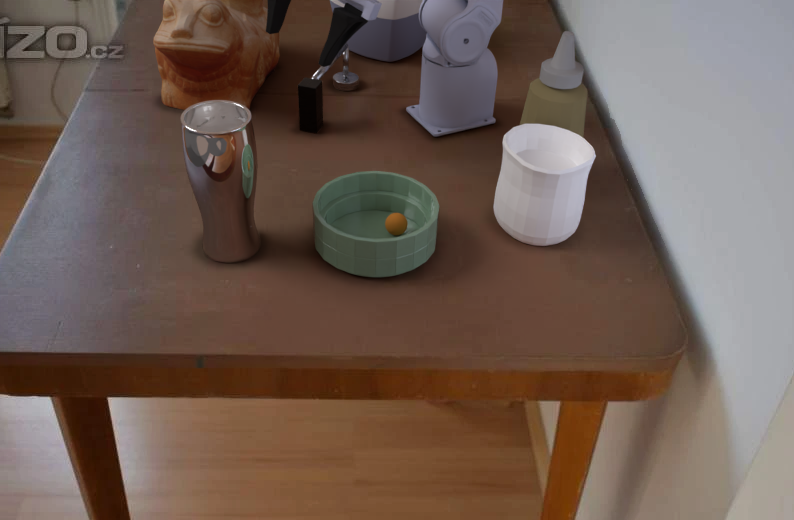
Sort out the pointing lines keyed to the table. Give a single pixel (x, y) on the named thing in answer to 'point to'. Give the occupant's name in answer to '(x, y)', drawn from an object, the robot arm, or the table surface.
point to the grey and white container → (389, 31)
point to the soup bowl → (374, 223)
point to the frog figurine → (214, 51)
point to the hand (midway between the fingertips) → (298, 48)
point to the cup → (542, 183)
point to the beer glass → (223, 176)
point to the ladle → (313, 92)
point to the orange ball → (396, 224)
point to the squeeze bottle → (558, 91)
